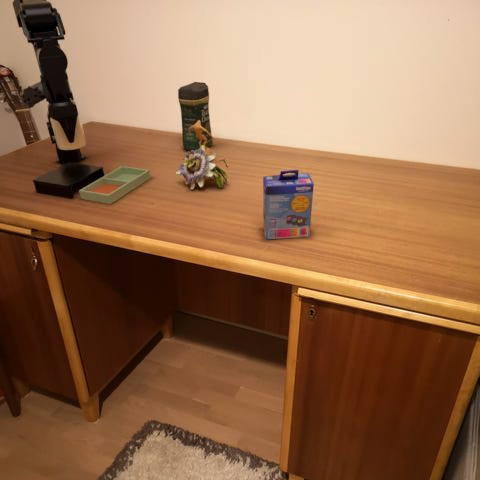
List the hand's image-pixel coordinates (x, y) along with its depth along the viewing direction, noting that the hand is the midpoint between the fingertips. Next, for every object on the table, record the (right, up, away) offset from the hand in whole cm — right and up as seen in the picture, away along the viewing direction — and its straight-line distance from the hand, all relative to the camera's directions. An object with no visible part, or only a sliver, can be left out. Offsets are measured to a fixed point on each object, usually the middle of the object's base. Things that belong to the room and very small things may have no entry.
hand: (70, 138), depth 116 cm
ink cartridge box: (+53, -27, -16) cm, 61 cm away
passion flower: (+33, -9, +8) cm, 35 cm away
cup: (0, -1, +1) cm, 2 cm away
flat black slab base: (-3, -9, +10) cm, 14 cm away
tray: (+10, -10, +8) cm, 16 cm away
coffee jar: (+29, +9, +31) cm, 44 cm away
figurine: (+32, +1, +21) cm, 38 cm away
